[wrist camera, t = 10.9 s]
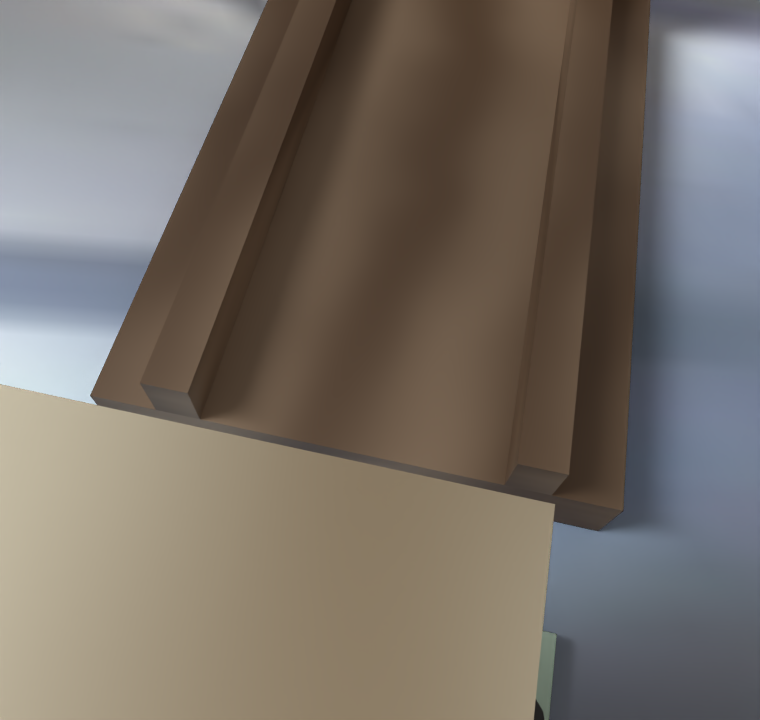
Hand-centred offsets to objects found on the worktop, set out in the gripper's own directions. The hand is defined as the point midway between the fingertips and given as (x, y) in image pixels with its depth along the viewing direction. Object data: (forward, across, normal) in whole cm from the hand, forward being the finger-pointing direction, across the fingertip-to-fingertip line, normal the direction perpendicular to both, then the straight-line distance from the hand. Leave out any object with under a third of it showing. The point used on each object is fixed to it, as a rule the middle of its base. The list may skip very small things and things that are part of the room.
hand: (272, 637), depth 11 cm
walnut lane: (+17, 0, -6) cm, 18 cm away
